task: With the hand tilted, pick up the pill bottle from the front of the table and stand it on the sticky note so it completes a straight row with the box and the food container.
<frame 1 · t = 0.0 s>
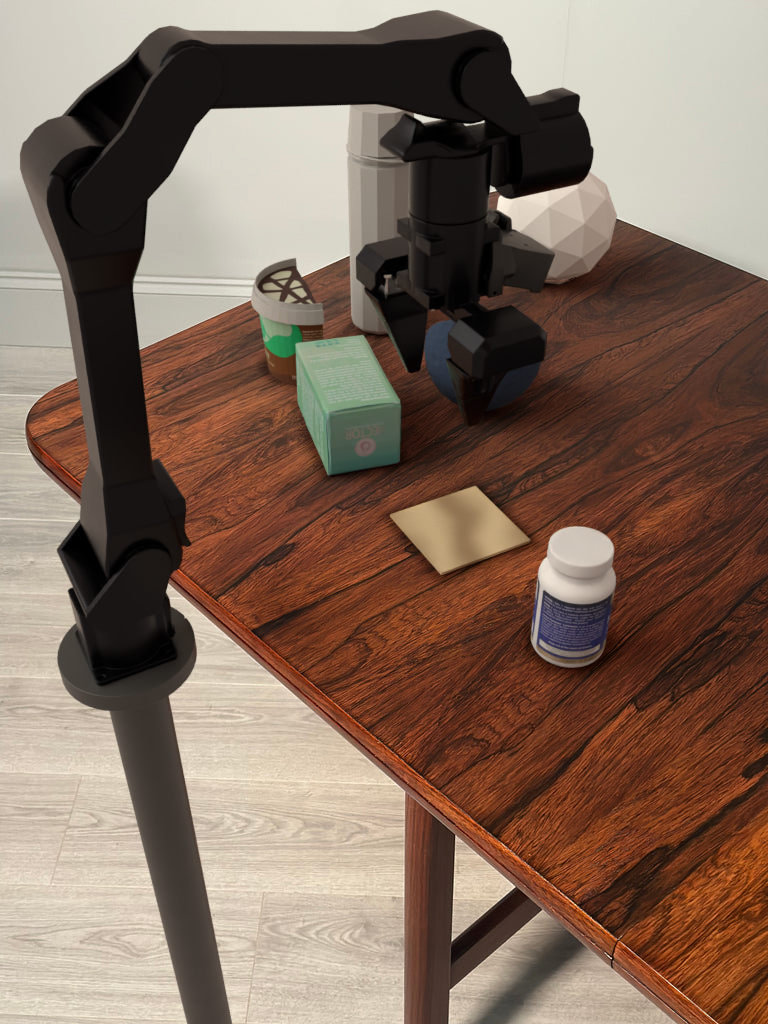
hand: (442, 397, 84), 14 cm above the table, tool pointing down, fingers open, 9 cm apart
geometric sphere: (548, 277, 132), on the table
food container: (286, 369, 114), on the table
water bottle: (389, 323, 123), on the table
pill bottle: (566, 645, 81), on the table
decorative stone: (480, 403, 109), on the table
sticky note: (459, 529, 92), on the table
box: (347, 436, 104), on the table
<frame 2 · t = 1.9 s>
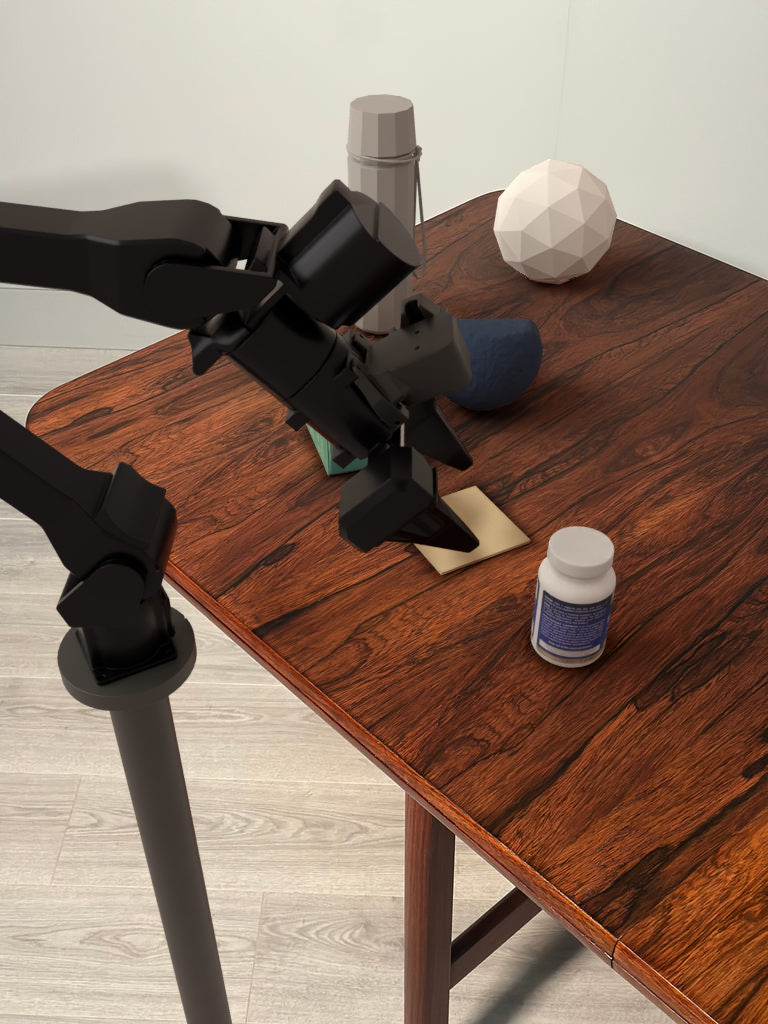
hand: (471, 505, 73), 13 cm above the table, tool tilted 45°, fingers open, 9 cm apart
nothing on the table moved.
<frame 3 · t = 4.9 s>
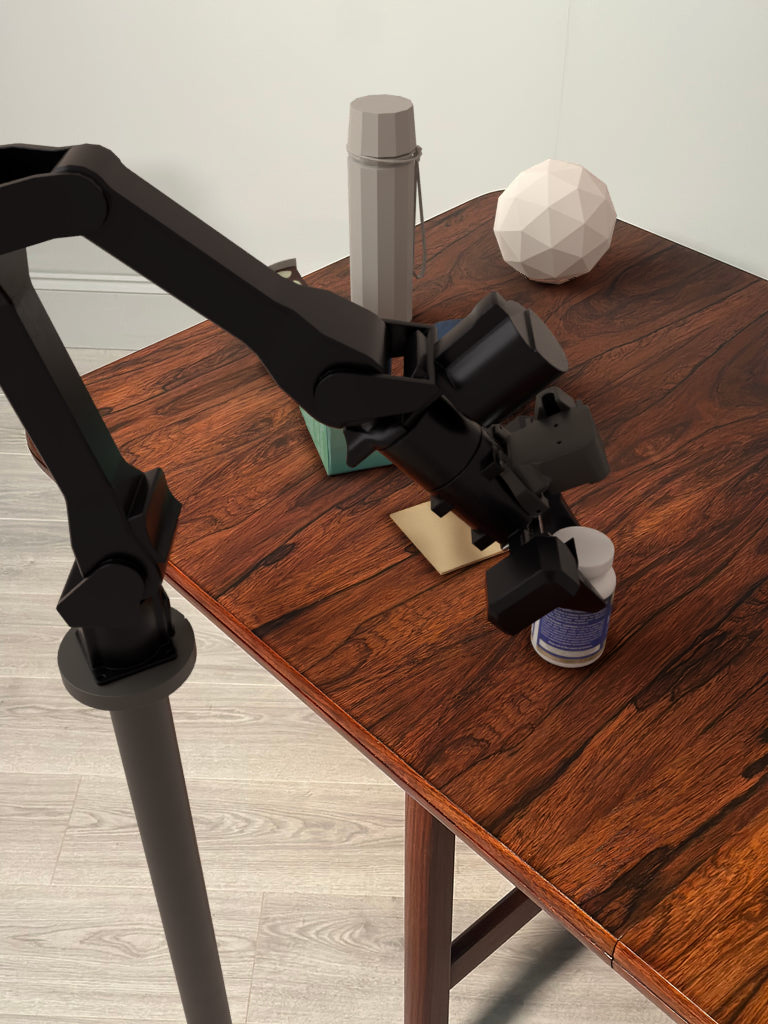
hand: (595, 580, 77), 7 cm above the table, tool tilted 45°, fingers closed on pill bottle, 6 cm apart
pill bottle: (566, 645, 81), on the table, touching gripper
everything else where it was.
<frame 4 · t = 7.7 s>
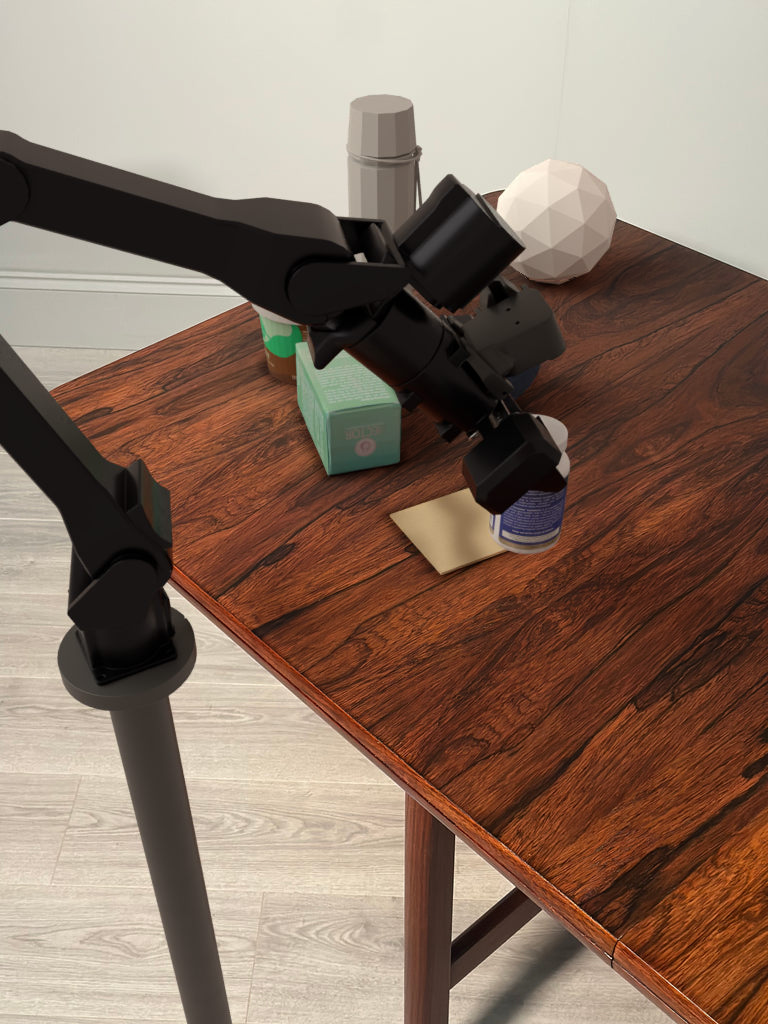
hand: (548, 464, 79), 12 cm above the table, tool tilted 45°, fingers closed on pill bottle, 6 cm apart
pill bottle: (523, 536, 83), point 5 cm above the table, touching gripper
everything else where it was.
when the fingers open (7 cm above the table, at t = 10.7 s): pill bottle stays where it is, resting on sticky note.
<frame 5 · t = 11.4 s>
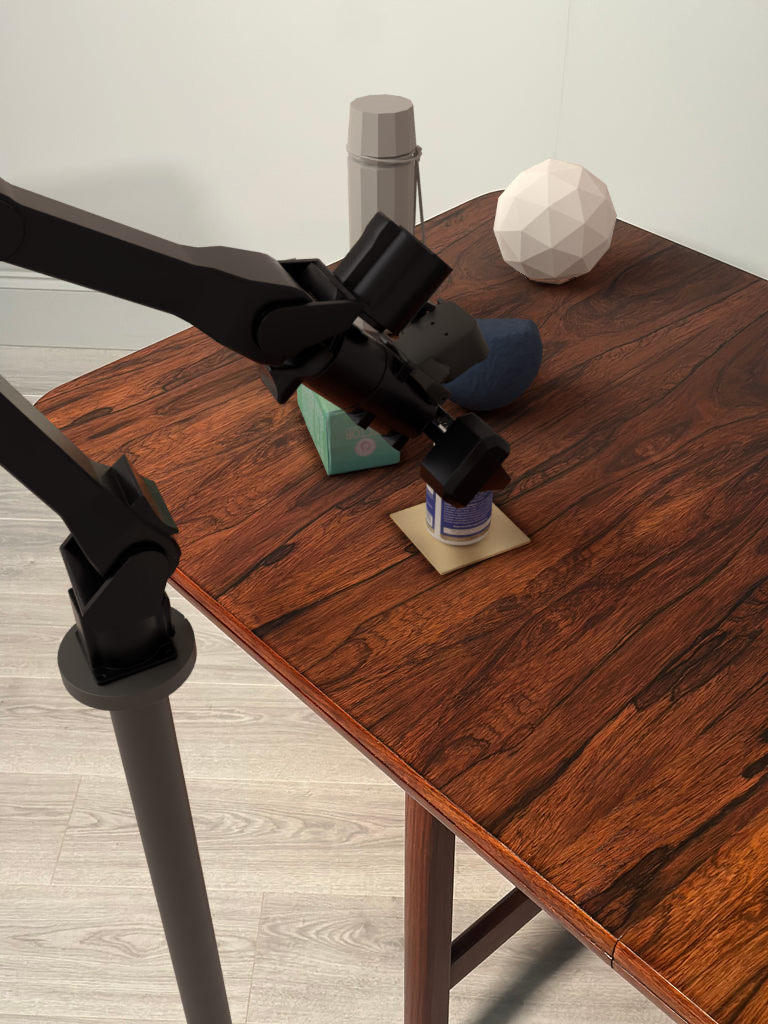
hand: (476, 455, 88), 8 cm above the table, tool tilted 45°, fingers open, 9 cm apart
pill bottle: (457, 529, 92), resting on sticky note
everything else where it was.
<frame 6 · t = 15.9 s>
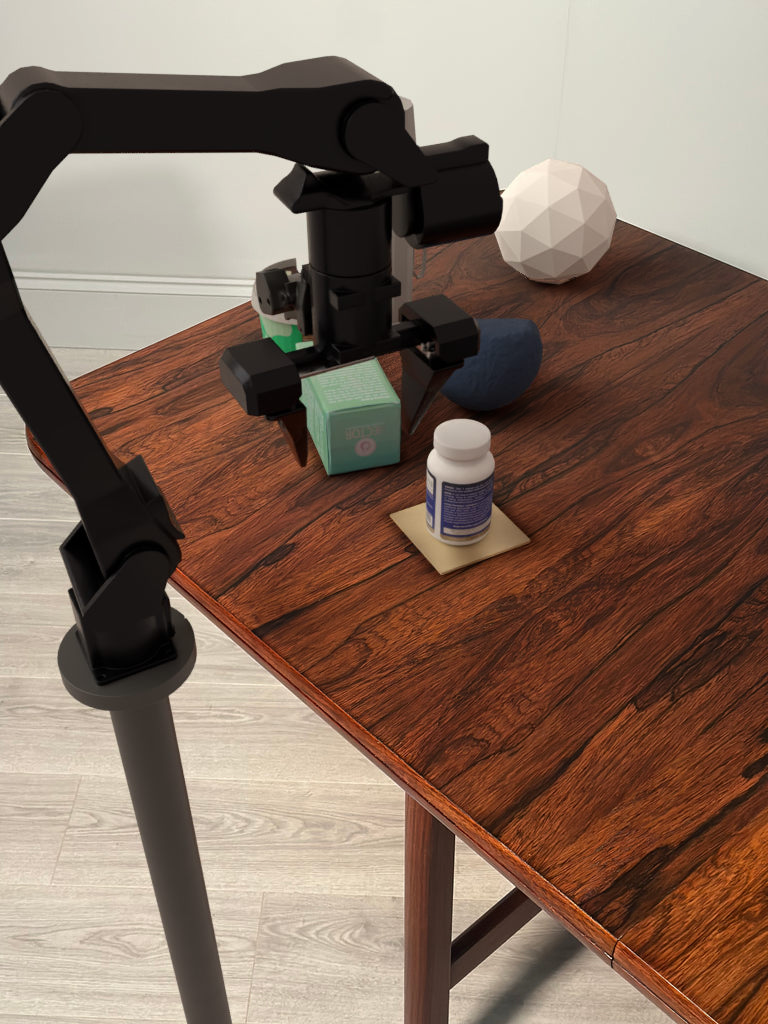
hand: (355, 448, 81), 12 cm above the table, tool pointing down, fingers open, 9 cm apart
nothing on the table moved.
at the end: pill bottle inside the target area on the table beside the box (0.5 cm from its centre), resting on sticky note; pill bottle 0.2 cm from the sticky note (horizontally); pill bottle tilted 0° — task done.
